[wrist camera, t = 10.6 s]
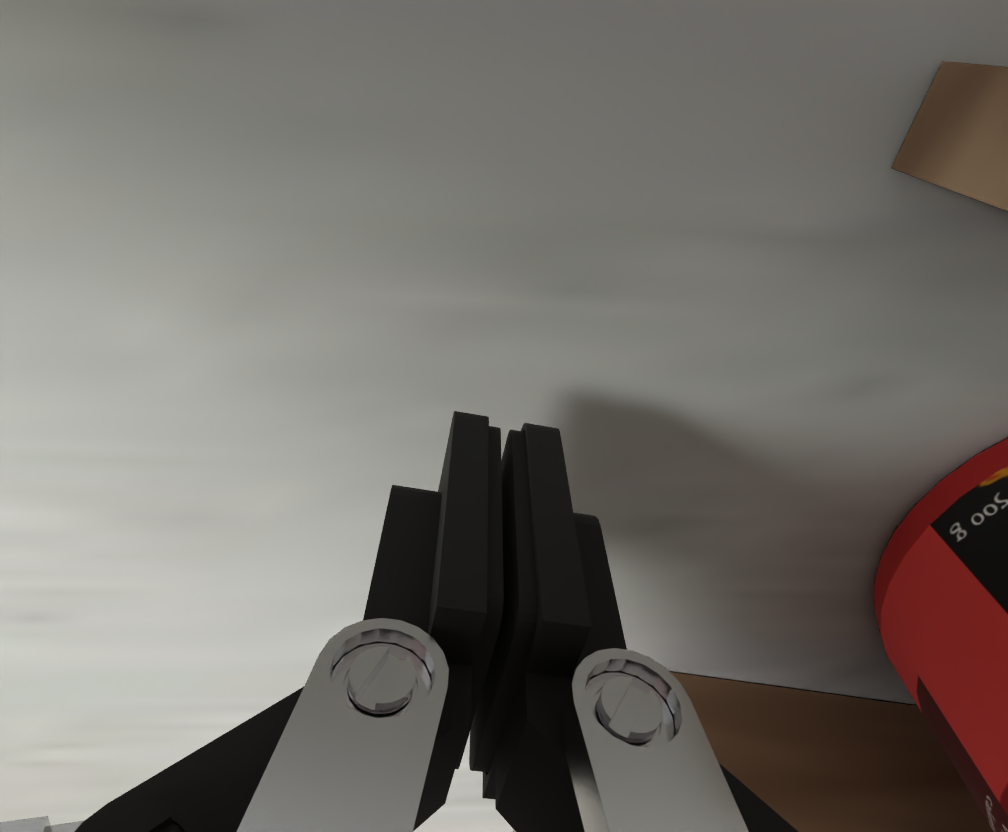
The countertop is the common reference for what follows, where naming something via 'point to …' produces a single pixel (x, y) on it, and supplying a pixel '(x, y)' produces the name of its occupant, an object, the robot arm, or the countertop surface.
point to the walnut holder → (848, 720)
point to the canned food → (956, 620)
